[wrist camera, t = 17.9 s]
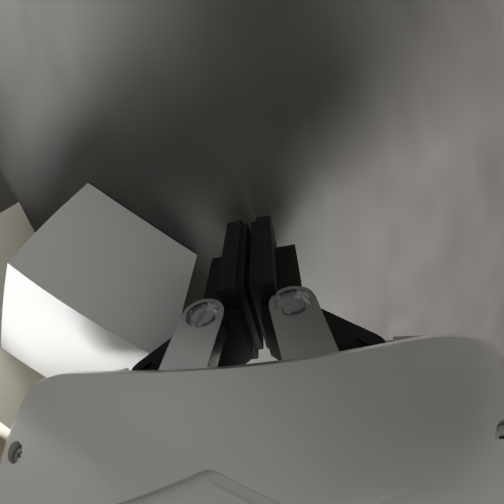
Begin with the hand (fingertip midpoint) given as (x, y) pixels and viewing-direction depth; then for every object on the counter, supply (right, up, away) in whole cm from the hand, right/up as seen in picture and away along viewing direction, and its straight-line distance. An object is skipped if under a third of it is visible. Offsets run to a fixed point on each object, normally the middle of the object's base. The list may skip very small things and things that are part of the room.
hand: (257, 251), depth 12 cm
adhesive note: (-7, 0, +2) cm, 7 cm away
